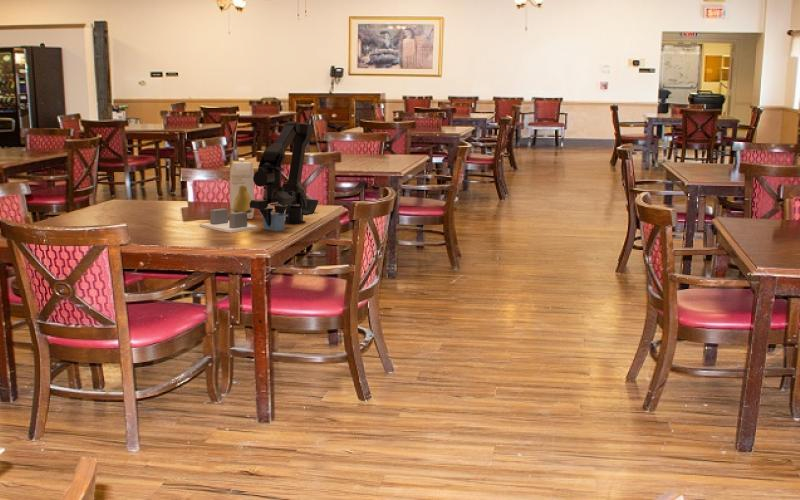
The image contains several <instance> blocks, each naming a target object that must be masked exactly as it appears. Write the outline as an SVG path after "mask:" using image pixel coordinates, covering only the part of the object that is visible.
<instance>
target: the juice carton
mask: <svg viewBox="0 0 800 500" xmlns="http://www.w3.org/2000/svg"><path fill="white" fill-rule="evenodd" d="M228 171H229V175H228V176H229V177H228V178H229V211H230V213H236V212H246V213H247V220H252V219H253V218H254V212H255V208H250V202H251V200H255V183H254V181H253V177H254V174H255V171H254V164H253V161H251V160H246V158H244V157H243V158H242V157H241V158H240V157H239V158H238V160H230V164H229V170H228Z"/></svg>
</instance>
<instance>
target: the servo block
mask: <svg viewBox="0 0 800 500" xmlns="http://www.w3.org/2000/svg"><path fill="white" fill-rule="evenodd" d="M259 215H262V213H261V212H260V211H259ZM286 216H288V215H287V214H285V213H284V214H282V213H276V212H275V211H271V224H270V226H268V225H267V223H266V221H265V219H264V217H263V216H262V227H263V228H262V229H263V230H266V231H267V230H268V231H272V232H279V231H285V228H286V227H285V225H286V224H285V223H286V222H285V217H286Z"/></svg>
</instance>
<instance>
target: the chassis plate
mask: <svg viewBox="0 0 800 500" xmlns="http://www.w3.org/2000/svg"><path fill="white" fill-rule="evenodd" d="M209 212H210V214H209V215H210V219H209V220H210V221H209V222H205V223H199V227H200V228H204V229H210V230H214V231H220V232H224V233H230V234H232V233H238V232H245V231H252V230H257V229H259V227H258V225H255V224H250V223H249V224H248V219H247V213H246V212H236V213H231V212H229V209H228V208H222V207H221V208H217V209H216V208H214V209H210V210H209Z"/></svg>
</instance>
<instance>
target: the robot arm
mask: <svg viewBox="0 0 800 500" xmlns="http://www.w3.org/2000/svg"><path fill="white" fill-rule="evenodd" d="M281 130H282V131H281V132H280V134H279V135H278V137H276V140H275V142H273V144H271V145H269V146H267V147H266V148H265V150H264V151H263V152H262V155H261V158H260V161H259V163H258V166H257V171H256V172H254V177H253V181H254V185H256V186H257V187H259V188H262V187H263V190H265V196H263V199H254V200H251V202H250V208H254V210H259V213H260V212H261V213H262V214H261V215H262V218H263V217H264V219H265V221H266V223H267V225H268V226H270V224H271V212H273V210H274V212H276V213H282V214H287V215H288V216H286V217H285V223H286V224H291V225H292V224H293V225H297V224H301V223H302V224H303V223H306V222H307V221H306V220H304V215H303V208H306V207H307V200H306V199H307V198H306V197H305V195H304V192H305V191H304V187H303V185H302V183H301V182H302V177H303V176H302V174H303V167H304V162H305V155H306V147H307V146H308V145H309V144H310V142H312V137H313V134H314V127H313V126H312V124H310V123H308V122H297V121H288V122H285V123H284V127H283V128H282V129H281ZM291 143H293V144H292V146H293V147H292V152H291V158H290V164H289V165H290V166H289V172H288V177H287V178H288V179H287V181H286V182H283V183H282V171H284V168H283V164H284V162H285V160H286V157H287V156H286V151H287V149H288V147H289V146H290V144H291ZM299 204H300V205H299ZM272 206H274V208H273V207H272Z"/></svg>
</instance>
